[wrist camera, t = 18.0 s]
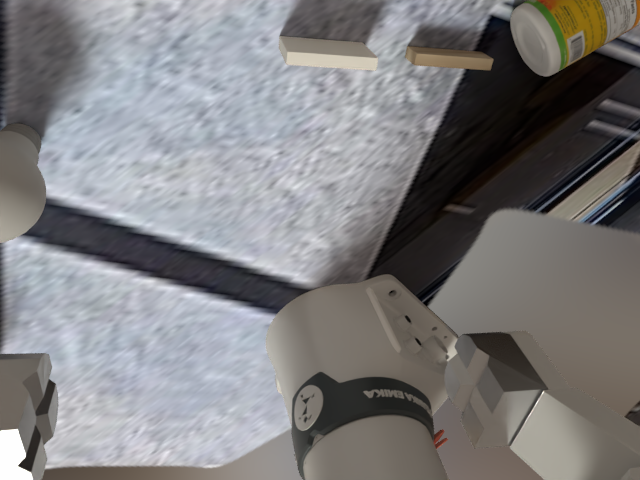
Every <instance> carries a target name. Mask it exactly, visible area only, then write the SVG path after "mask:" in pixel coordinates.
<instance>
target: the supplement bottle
mask: <svg viewBox="0 0 640 480" xmlns="http://www.w3.org/2000/svg"><path fill="white" fill-rule="evenodd" d="M639 24H640V0H527V1H526V2H524V3H523V4H521V5H519V6H518V7H517V8H515V9H514V11H513V12H512V15H511V19H510V26H511V32H512V36H513V39H514V42H515V45H516V47H517V49H518V51H519V53H520V55H521V57H522V59H523V60H524V62H525V63H526V64H527V65H528V66H529V68H530V69H532V70H533V71H534V72H535V73H537V74H539V75H541V76H551V75H553V74H555V73H556V72H558V71H560V70H562V69H564V68H565V67H567V66H569V65H570V64H572V63H574V62H576V61H577V60H579V59H581V58H582V57H584V56H586V55H588V54H589V53H591V52H593V51H594V50H596V49H598V48H600V47H601V46H603V45H605V44H607V43H608V42H610V41H612V40H614V39H615V38H617V37H619V36H621V35H622V34H624V33H626V32H628V31H629V30H631V29H633V28H634V27H636V26H637V25H639Z"/></svg>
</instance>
